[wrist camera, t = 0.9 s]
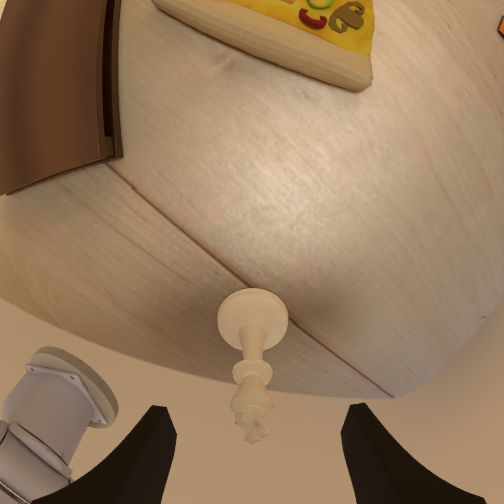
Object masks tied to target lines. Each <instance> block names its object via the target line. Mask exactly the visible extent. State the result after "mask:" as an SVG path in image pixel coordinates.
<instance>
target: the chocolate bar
mask: <svg viewBox="0 0 504 504" xmlns="http://www.w3.org/2000/svg"><path fill="white" fill-rule="evenodd" d="M499 30H500V31H501V33H502V34H503V35H504V19H503V21H502V23H501V27H500V29H499Z"/></svg>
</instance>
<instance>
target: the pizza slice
mask: <svg viewBox="0 0 504 504" xmlns="http://www.w3.org/2000/svg"><path fill="white" fill-rule="evenodd" d="M151 1H152V2H153V3H154V4H155V5H156V6H157V7H158V8H159V9H161V10H163V11H165V12H166V13H168V14H170V15H172V16H174V17H175V18H177V19H179V20H181V21H182V22H184V23H186V24H188V25H190V26H192V27H194V28H196V29H198V30H199V31H201V32H203V33H206V34H208V35H210V36H212V37H214V38H217V39H219V40H221V41H223V42H225V43H227V44H229V45H232V46H234V47H236V48H239V49H241V50H243V51H245V52H248V53H250V54H252V55H254V56H257V57H260V58H263V59H265V60H268V61H271V62H273V63H276V64H278V65H281V66H284V67H286V68H289V69H292V70H295V71H298V72H300V73H303V74H305V75H308V76H311V77H314V78H317V79H319V80H322V81H325V82H327V83H330V84H333V85H337V86H340V87H343V88H346V89H350V90H357V91H364V90H365V89H366V88H368V87H369V86H371V84H372V79H373V75H372V65H371V46H372V38H373V32H374V14H373V6H372V0H151Z"/></svg>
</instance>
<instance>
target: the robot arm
mask: <svg viewBox="0 0 504 504" xmlns="http://www.w3.org/2000/svg"><path fill="white" fill-rule="evenodd" d="M25 368H26V370H27V373H26V374H25V375H24V377H23V378H22V379H21V380H20V382H19V383H18V384H17V385H16V387H15V388H14V389H13V390H12V391H11V393H10V394H9V395H8V396H7V398H6V399H5V401H4V403H3V406H2V419H3V420H0V481H1V482H2V483H3V484H4V485H6V486H7V487H8V488H10V489H11V490H12V491H13V492H15V493H16V494H18V495H19V496H20V497H21V498H23V499H24V500H26V501H27V502H28V503H30V504H161V500H162V495H163V492H164V488H165V485H166V482H167V478H168V474H169V471H170V468H171V464H172V460H173V457H174V452H175V445H176V438H177V433H176V431H175V428H174V426H173V423H172V420H171V418H170V415H169V413H168V410H167V407H162V406H155V405H152V406H151V407H150V408H149V409H148V411H147V412H146V413H145V415H144V416H143V417H142V419H141V420H140V421H139V422H138V423H137V425H136V426H135V427H134V428H133V429H132V431H131V432H130V433H129V434H128V435H127V436H126V437H125V439H124V440H123V441H122V442H121V443H120V444H119V445H118V446H117V447H116V448H115V449H114V450H113V451H112V452H111V453H110V454H109V455H108V456H107V457H106V458H105V459H104V460H103V461H102V462H100V463H99V464H98V465H97V466H96V467H95V468H93V469H92V470H91V471H89V472H88V473H86V474H85V475H84V476H82V477H81V478H79V479H78V480H76V481H73V479H72V478H71V477H70V476H71V474H72V470H71V469H69V468H68V465H69V463H70V461H71V459H72V457H73V455H74V453H75V451H76V449H77V447H78V444H79V442H80V440H81V438H82V436H83V434H84V432H85V431H86V429H87V427H88V425H89V423H90V421H91V422H96V423H100V424H107V423H108V421H107V419H106V418H105V416H104V415H103V413H102V412H101V410H100V409H99V407H98V405H97V404H96V402H95V401H94V399H93V397H92V396H91V394H90V392H89V391H88V389H87V387H86V386H85V384H84V382H83V380H82V378H81V377H80V375H79V374H77V373H72V372H66V371H60V370H55V369H50V368H45V367H40V366H36V365H31V364H25ZM341 439H342V446H343V452H344V456H345V460H346V464H347V467H348V471H349V474H350V478H351V481H352V485H353V489H354V492H355V497H356V502H357V504H487V503H486V501H485V499H484V498H483V497H480V496H477V495H474V494H471V493H468V492H466V491H464V490H461V489H459V488H457V487H455V486H453V485H451V484H450V483H448V482H446V481H445V480H443V479H441V478H439V477H438V476H436V475H435V474H433V473H432V472H431V471H429V470H428V469H426V468H425V467H424V466H423V465H421V464H420V463H419V462H418V461H417V460H415V459H414V458H413V457H412V456H411V455H410V454H409V453H408V452H407V451H406V450H405V449H404V448H403V447H402V446H401V445H400V444H399V443H398V442H397V441H396V440H395V439H394V438H393V436H392V435H391V434H390V433H389V432H388V431H387V430H386V429H385V427H384V426H383V425H382V424H381V423H380V421H379V420H378V419H377V417H376V416H375V415H374V414H373V412H372V411H371V410H370V408H369V407H368V406H367V405H366V404H365V403H359V404H352V405H350V407H349V410H348V413H347V416H346V419H345V422H344V425H343V427H342V430H341ZM0 504H27V503H25V502H24V501H22V500H21V499H20V498H18V497H17V496H15V495H14V494H13V493H11V492H10V491H9V490H8V489H6V488H5V487H4V486H2V485H1V484H0Z"/></svg>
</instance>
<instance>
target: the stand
mask: <svg viewBox="0 0 504 504" xmlns="http://www.w3.org/2000/svg"><path fill="white" fill-rule="evenodd" d="M120 3H121V0H7V2H6V4H5V7H4V10H3V13H2V17H1V20H0V196H2V195H4V194H6V195H11V194H14V193H16V192H19V191H21V190H24V189H26V188H29V187H31V186H34V185H36V184H39V183H42V182H45V181H47V180H50V179H53V178H56V177H59V176H62V175H65V174H68V173H71V172H74V171H77V170H80V169H84V168H87V167H90V166H94V165H97V164H101V163H105V162H108V161H112V160H116V159H120V158H122V157H123V154H122V144H121V134H120V121H119V105H118V70H117V61H118V29H119V14H120Z"/></svg>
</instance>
